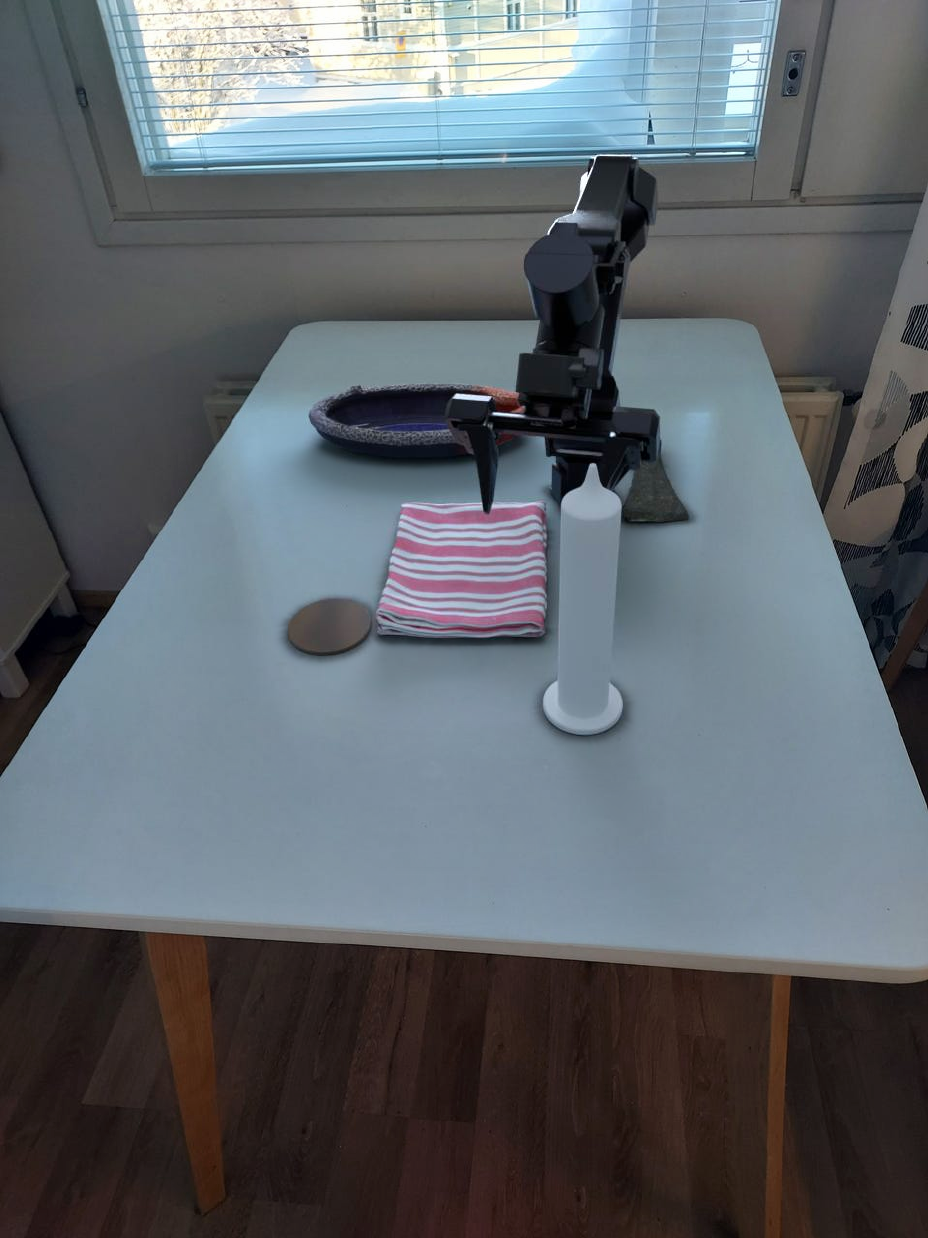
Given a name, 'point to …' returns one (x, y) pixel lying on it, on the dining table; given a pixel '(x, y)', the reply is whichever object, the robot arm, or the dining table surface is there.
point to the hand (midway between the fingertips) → (536, 518)
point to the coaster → (329, 626)
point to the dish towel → (467, 572)
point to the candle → (586, 611)
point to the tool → (652, 495)
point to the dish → (400, 418)
